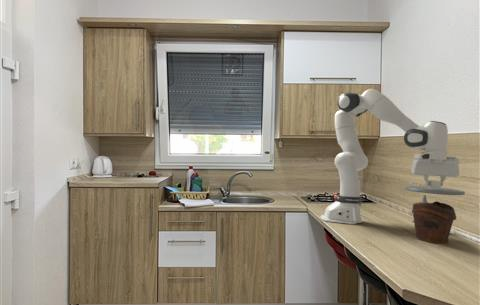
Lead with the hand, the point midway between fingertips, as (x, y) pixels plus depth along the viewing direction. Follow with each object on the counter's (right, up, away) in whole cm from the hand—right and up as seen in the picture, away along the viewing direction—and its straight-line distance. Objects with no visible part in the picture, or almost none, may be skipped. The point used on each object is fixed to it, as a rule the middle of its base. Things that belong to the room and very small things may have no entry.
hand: (433, 185), depth 154 cm
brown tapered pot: (-1, -25, 0) cm, 25 cm away
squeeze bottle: (+6, -25, +21) cm, 33 cm away
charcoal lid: (0, -3, 0) cm, 3 cm away
